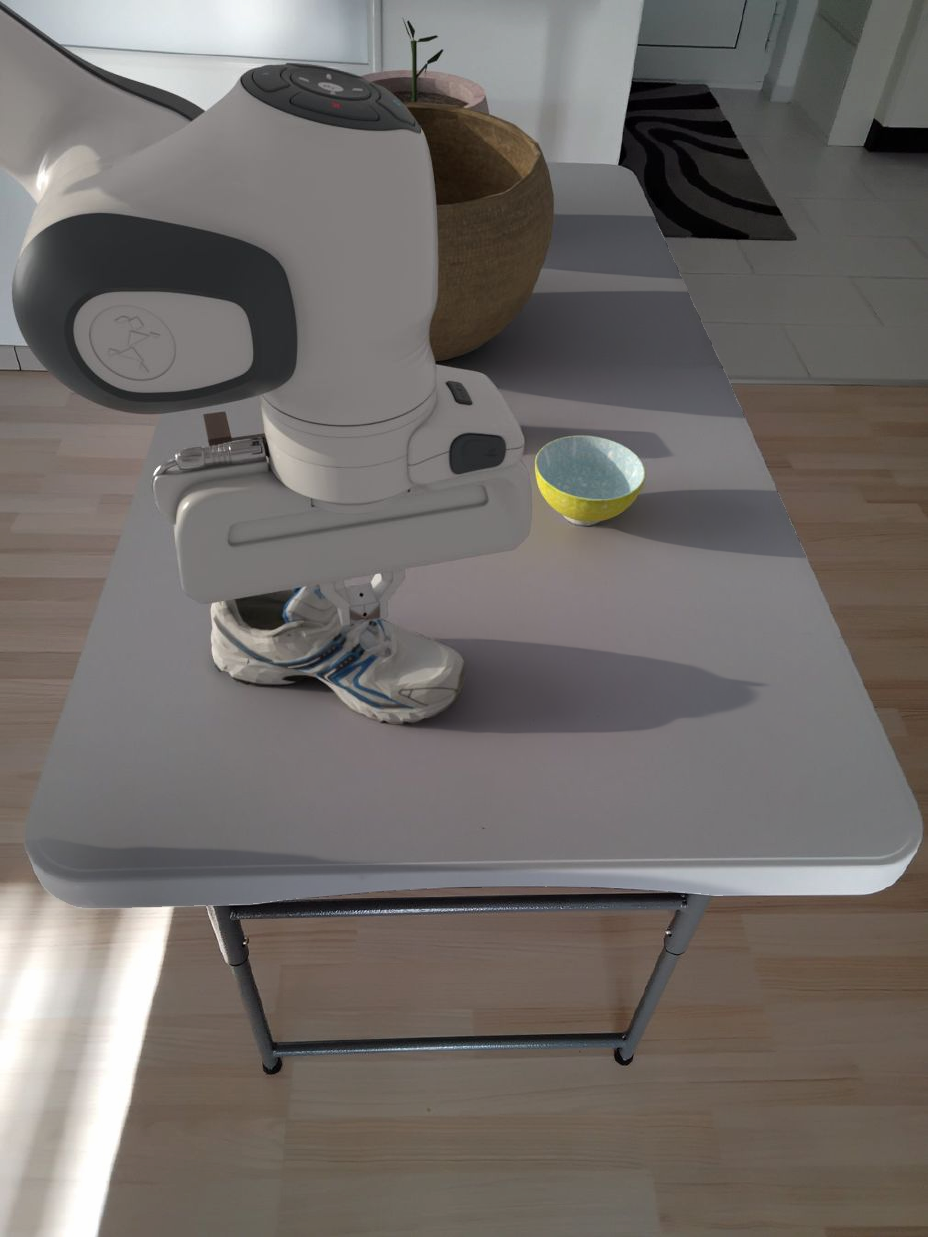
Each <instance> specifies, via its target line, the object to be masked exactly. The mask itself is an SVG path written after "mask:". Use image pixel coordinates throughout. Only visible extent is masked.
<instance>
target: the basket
mask: <svg viewBox="0 0 928 1237" xmlns="http://www.w3.org/2000/svg"><path fill="white" fill-rule="evenodd" d="M402 103H403V104H404V105H405V106H406V107H407V108H408V110H409V111H410V113H411V114H412V115H413V116H414V118H415V119H416V120H417V122H418V124H419V125H420V127H421V129H422V130H423V133H424V135H425V137H426V141H427V144H428V147H429V152H430V156H431V161H432V168H433V175H434V183H435V193H436V207H437V226H438V297H437V303H436V307H435V310H434V313H433V316H432V319H431V323H430V328H429V340H430V345H431V349H432V352H433V355H434V359H435V362H440V361H447V360H451V359H453V358H456V357H457V358H458V357H461V356H464V355H467V354H469V353H471V352H473V351H475V350H477V349H479V348H480V347H481V346H483V345H484V344H486V343H487V342H489V341H490V340H491V339H493V338H494V337H497V335H499V334H500V333H501V332H503V331H505V329H506V328H507V326H509V325H510V323H511V322H512V321H513V320H514V319H515V317H516V316H517V315H518V314H519V313H520V312H521V310H522V309H523V307H525V305H526V304H527V303H528V301H529V300H530V299H531V296H532V294H533V291H534V289H535V286H536V284H537V282H538V279H539V276H540V273H541V271H542V269H543V267H544V264H545V263H546V262H545V261H546V259H547V254H548V252H549V251H548V250H549V247H550V243H551V240H552V235H553V229H554V219H555V218H554V217H555V205H554V204H555V196H554V195H555V194H554V190H553V185H552V184H553V183H552V180H551V173H550V168H549V167H548V163H547V161H546V159H545V156H544V153H543V151H542V149H541V147H540V143H539V142H537V140H535V139H533V137H531V135H529V134H527V133H526V132H525V131H524V130H523V129H521V128H520V127H519V126H517V125H516V124H515V123H512V122H511V121H507V120H505V119H502V118H500V117H499V116H495V115H494V114H493V115H492V114H490V113H489V114H486V113H482V112H479V111H475V110H471V109H468V108H464V107H460V106H455V105H447V104H434V103H417V102H402Z"/></svg>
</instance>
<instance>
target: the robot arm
mask: <svg viewBox="0 0 928 1237" xmlns="http://www.w3.org/2000/svg"><path fill="white" fill-rule="evenodd" d="M361 76H362V75H357V74H354V73H351V72H348V71H345V70H341V69H337V68H333V67H329V66H324V65H320V64H319V65H318V64H312V63H300V62H286V63H285V64H280V63H279V64H265V65H262V66H258V67H254V68H250V69H248V70H247V71H246V72H243V73H242V74H241V76H240V77H239V78H238V79H237V81H236V82H235V84H234V86H233V87H231V89H230V90H229V91H228V92H227V93H226V94H225V95H224V96H223V97H222V98H220V99H219V100H218V101H216V102H215V103H214V104H213V105H212V106H210V107H209V108H208V109H206V110H205V109H203V108H202V107H201V106H198V105H197V104H195V103H194V102H192V101H190V100H189V99H187V98H185V97H182V96H180V95H178V94H176V93H173V92H171V91H168V90H166V89H163V88H161V87H157V86H155V85H151V84H148V83H144V82H141V81H138V80H134V79H132V78H128V77H125V76H122V75H120V74H116V73H114V72H111V71H109V70H107V69H104V68H102V67H100V66H98V65H95V64H93V63H91V62H90V61H88V60H85V59H84V58H82V57H80V56H79V55H77V54H75V53H74V52H73V51H70V50H69V49H68V48H66V47H65V46H63V45H61V44H60V43H59V42H57V41H56V40H55V39H53V38H52V37H50V36H49V35H47V34H46V33H45V32H43V31H42V30H40V29H39V28H38V27H36V26H35V25H34V24H32V23H31V22H29V21H28V20H27V19H25V18H24V17H23V16H21V15H20V14H19V13H17V12H16V11H15V10H13V9H12V8H10V7H9V6H8V5H7V4H5V3H4V2H2V1H1V0H0V171H2V172H4V173H6V175H8V176H9V177H11V178H12V179H14V180H15V181H16V182H17V183H18V184H19V185H20V186H21V187H22V188H23V189H24V190H25V191H26V192H27V193H28V194H29V195H30V197H31V198H32V200H33V201H34V202H35V204H36V207H35V209H34V210H33V213H32V216H31V218H30V222H29V225H28V226H27V230H26V232H25V236H24V239H23V242H22V245H21V248H20V252H19V255H18V260H17V262H16V265H15V268H14V271H13V277H12V281H11V282H12V283H11V302H12V308H13V313H14V317H15V320H16V324H17V325H18V329H19V331H20V333H21V336H22V338H23V340H24V341H25V343H26V345H27V346H28V348H29V350H30V351H31V352H32V354H33V355H34V357H35V358H36V359H37V361H38V362H39V363H40V364H41V365H42V366H43V368H44V369H45V370H46V371H47V372H48V373H49V374H50V375H52V376H53V378H55V380H57V381H59V382H60V383H61V384H62V385H64V387H66V388H67V389H69V390H70V391H72V392H73V393H75V394H77V395H79V396H80V397H82V398H83V399H86V400H88V401H90V402H92V403H94V404H96V405H98V406H102V407H103V408H104V407H105V408H108V409H111V410H114V411H118V412H123V413H128V414H135V415H163V414H172V413H179V412H185V411H191V410H196V409H202V408H203V409H204V408H209V407H214V406H220V405H225V404H229V403H233V402H238V401H243V400H247V399H251V398H255V397H258V396H259V401H260V409H261V416H262V422H263V431H264V433H265V435H264V437H258V438H251V439H244V440H237V441H232V442H228V443H223V445H222V444H219V445H217V446H216V445H215V446H212V447H211V446H209V445H208V446H202V445H195V446H188V447H184V448H181V449H180V448H179V449H177V450H175V454H174V455H175V456H174V457H170V458H168V459H166V460H164V461H163V462H161V463H160V464H159V465H158V466H157V467H156V469H154V472H153V473H152V476H151V480H150V488H151V491H152V495H153V496H152V497H153V500H154V503H155V504H154V505H155V507H156V509H157V512H158V513H159V514H160V516H161V517H162V518H163V519H164V520H165V521H167V522H168V523H170V524H171V525H173V533H174V534H173V535H174V543H175V544H174V545H175V553H176V560H177V561H176V562H177V566H178V572H179V578H180V579H179V580H180V584H181V590H182V593H183V594H184V595H185V596H186V597H188V598H190V599H192V600H193V601H194V602H196V603H198V604H201V605H209V604H212V603H216V602H222V601H227V600H233V599H238V598H244V597H249V596H255V595H261V594H266V593H272V592H278V591H284V590H289V589H295V588H301V587H306V586H312V585H318V584H319V586H320V590H321V593H322V594H323V595H324V596H325V597H326V598H327V599H328V600H330V601H331V602H332V603H333V604H334V605H335V606H336V607H337V610H338V614H339V618H340V621H341V625H342V626H347V625H351V624H356V623H361V622H366V621H372V620H378V619H383V620H384V619H388V618H389V602H388V601H390V600H391V599H392V597H393V596H394V594H395V593H396V592H397V590H398V589H399V588H400V586H401V585H402V584H403V582H404V581H405V580H406V570H409V569H413V568H418V567H419V568H420V567H424V566H430V565H436V564H442V563H448V562H451V561H453V562H454V561H458V560H459V561H460V560H464V559H470V558H475V557H481V556H487V555H492V554H493V555H494V554H497V553H504V552H505V553H506V552H511V551H514V550H517V548H518V547H520V546H521V544H522V543H523V542H524V541H525V540H526V539H528V537H529V536H530V533H531V529H532V520H533V517H532V516H533V492H532V482H531V481H532V480H531V476H530V473H529V471H528V469H527V467H526V466H525V464H524V462H523V460H522V456H523V454H524V449H525V436H524V433H523V431H522V428H521V425H520V423H519V421H518V418H517V416H516V414H515V412H514V411H513V409H512V407H511V405H510V404H509V402H508V401H507V399H506V397H505V396H504V394H502V392H501V390H499V388H498V387H497V385H495V383H494V382H493V381H492V380H491V379H490V377H489V376H488V375H487V374H485V373H482V372H479V371H475V370H470V369H464V368H458V367H452V366H447V365H441V364H437V363H436V361H435V359H434V355H433V352H432V349H431V345H430V340H429V328H430V323H431V319H432V316H433V313H434V310H435V307H436V303H437V297H438V226H437V207H436V193H435V183H434V175H433V168H432V161H431V156H430V152H429V147H428V144H427V141H426V137H425V135H424V133H423V130H422V129H421V127H420V125H419V124H418V122H417V120H416V119H415V118H414V116H413V115H412V114H411V113H410V111H409V110H408V108H407V107H406V106H405V105H404V104H403V103H402V102H401V101H400V100H399V99H398V98H397V97H396V96H394V95H393V94H392V93H391V92H390V91H388V90H387V89H385V88H384V87H382V86H380V85H377V84H374V83H372V82H370V81H367V80H366V79H365V78H363V77H361ZM373 575H374V576H373ZM369 576H373V578H372V579H371V581H370V582H368V583H363V584H358V585H351V586H345V581H346V580H351V579H356V578H363V577H369Z"/></svg>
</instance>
